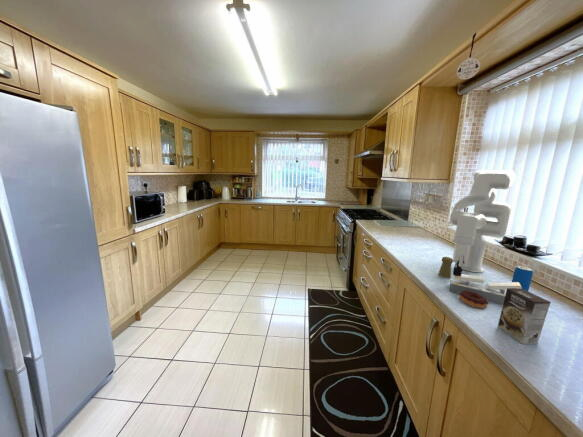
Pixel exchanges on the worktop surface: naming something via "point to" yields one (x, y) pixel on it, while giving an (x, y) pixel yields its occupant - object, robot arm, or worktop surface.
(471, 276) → the block
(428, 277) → the worktop surface
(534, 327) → the coffee box
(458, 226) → the robot arm
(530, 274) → the beverage can
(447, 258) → the cork
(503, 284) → the block
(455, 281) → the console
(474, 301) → the donut
